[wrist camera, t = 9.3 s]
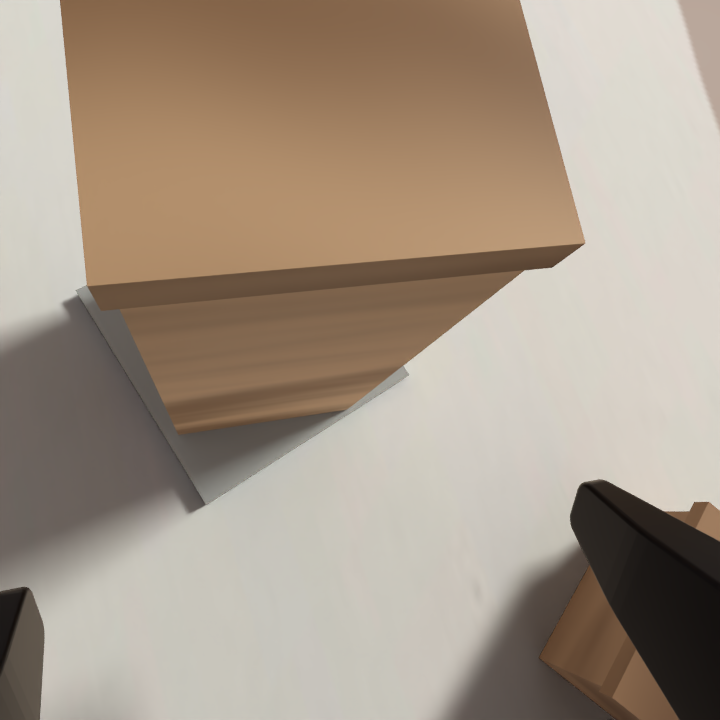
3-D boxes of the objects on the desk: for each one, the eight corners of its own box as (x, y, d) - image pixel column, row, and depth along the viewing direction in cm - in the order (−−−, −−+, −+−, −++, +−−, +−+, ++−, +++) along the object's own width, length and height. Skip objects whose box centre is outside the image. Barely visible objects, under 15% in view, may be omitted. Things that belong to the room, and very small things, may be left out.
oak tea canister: (352, 413, 21) (585, 243, 8) (174, 440, 19) (87, 286, 6) (323, 253, 22) (484, -131, 9) (153, 267, 20) (43, -172, 7)
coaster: (404, 377, 22) (409, 374, 22) (205, 505, 19) (206, 504, 19) (286, 195, 23) (287, 188, 22) (79, 295, 20) (75, 290, 20)
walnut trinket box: (745, 609, 23) (869, 632, 19) (673, 773, 21) (793, 841, 17) (614, 503, 23) (709, 501, 18) (528, 658, 21) (612, 697, 16)
